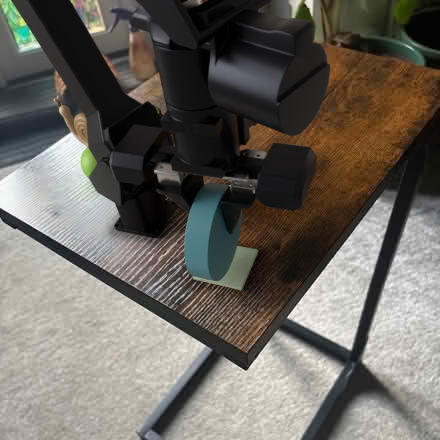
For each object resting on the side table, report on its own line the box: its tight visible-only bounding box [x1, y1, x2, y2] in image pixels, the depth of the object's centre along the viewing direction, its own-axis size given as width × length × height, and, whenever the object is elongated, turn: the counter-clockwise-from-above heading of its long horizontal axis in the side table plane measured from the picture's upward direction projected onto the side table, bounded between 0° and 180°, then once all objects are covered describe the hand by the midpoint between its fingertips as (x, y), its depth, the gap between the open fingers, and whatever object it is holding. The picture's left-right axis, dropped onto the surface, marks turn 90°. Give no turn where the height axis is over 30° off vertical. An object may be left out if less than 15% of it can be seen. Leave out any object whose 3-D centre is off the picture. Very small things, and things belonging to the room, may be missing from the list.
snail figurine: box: [53, 94, 97, 179], centre depth 62 cm, size 5×6×12 cm
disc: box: [183, 181, 243, 281], centre depth 48 cm, size 10×2×10 cm
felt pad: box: [192, 245, 259, 291], centre depth 54 cm, size 6×6×1 cm
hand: (220, 228), depth 49 cm, fingers closed on disc, 2 cm apart
